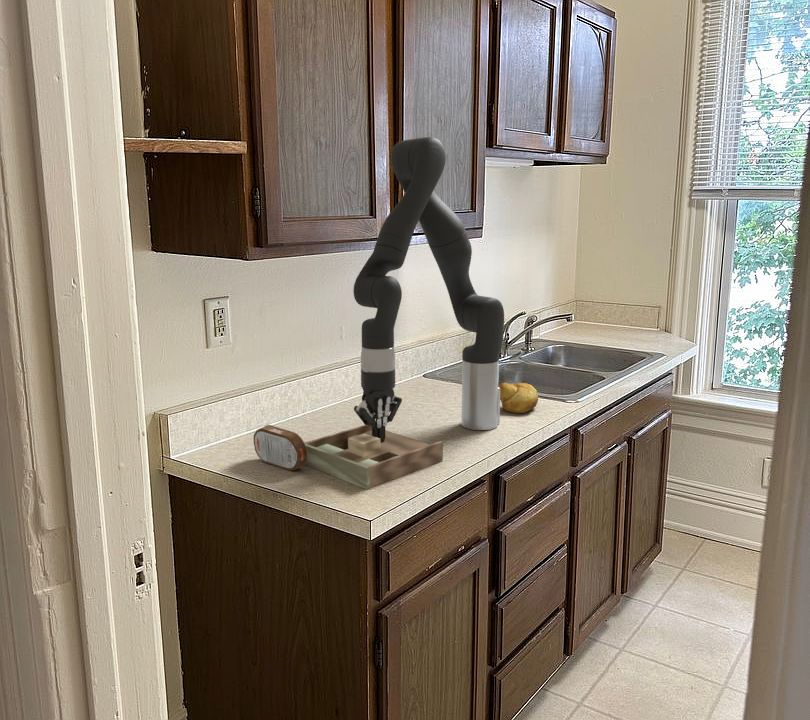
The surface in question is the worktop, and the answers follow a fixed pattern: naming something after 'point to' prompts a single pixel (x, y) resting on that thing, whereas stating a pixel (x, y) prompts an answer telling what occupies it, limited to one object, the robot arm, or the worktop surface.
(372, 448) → the maple block
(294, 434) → the tin
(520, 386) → the bread roll
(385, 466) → the trap box
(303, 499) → the worktop surface
